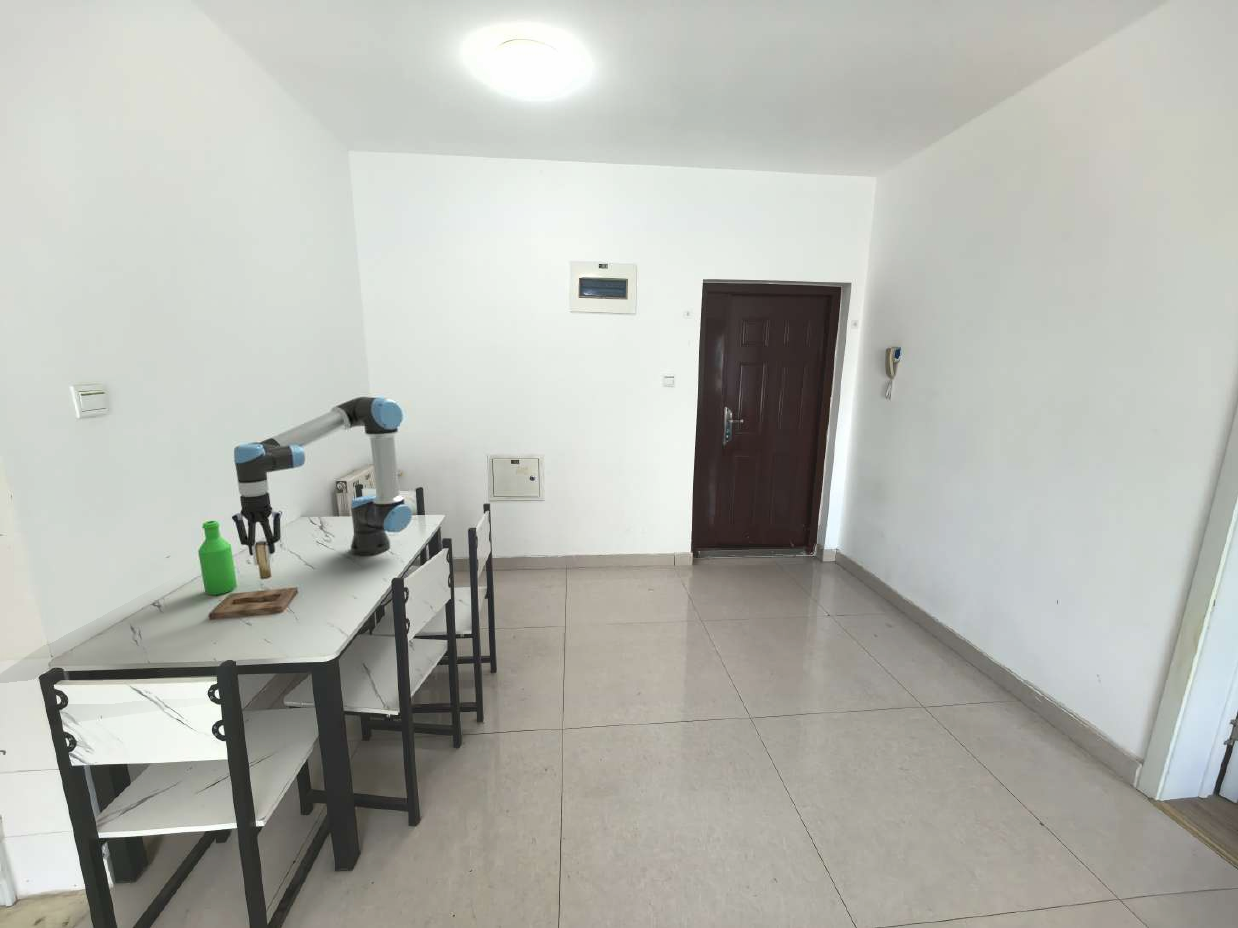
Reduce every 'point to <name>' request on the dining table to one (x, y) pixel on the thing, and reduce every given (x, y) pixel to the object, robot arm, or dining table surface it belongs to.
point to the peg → (262, 560)
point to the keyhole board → (253, 603)
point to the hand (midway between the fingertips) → (264, 563)
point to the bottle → (216, 561)
